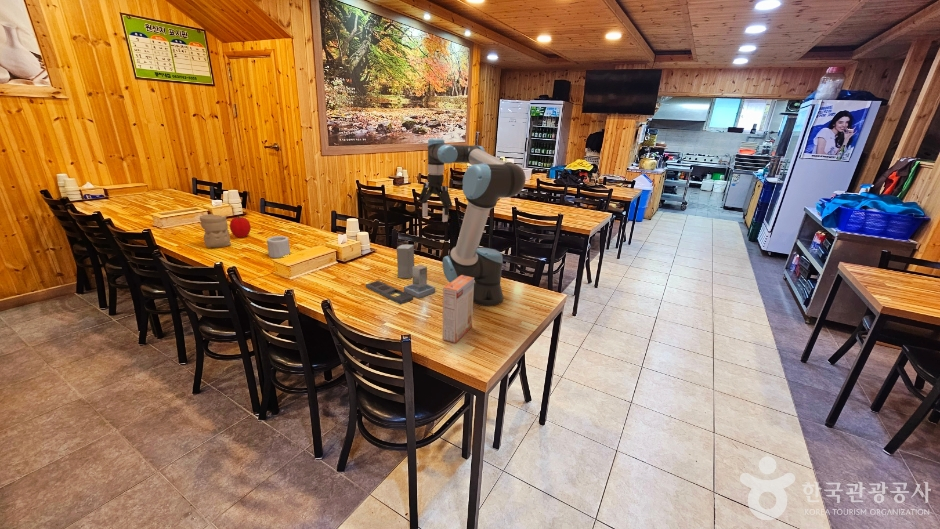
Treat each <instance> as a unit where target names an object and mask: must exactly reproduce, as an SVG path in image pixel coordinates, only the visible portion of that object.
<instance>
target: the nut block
mask: <svg viewBox="0 0 940 529" xmlns="http://www.w3.org/2000/svg"><path fill="white" fill-rule="evenodd" d="M412 284H413V290H414V291H416V292H418V293H420V292H423V291H425V290H427V284H428V266H426V265H423V264H416V265H414V266H413V276H412Z"/></svg>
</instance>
